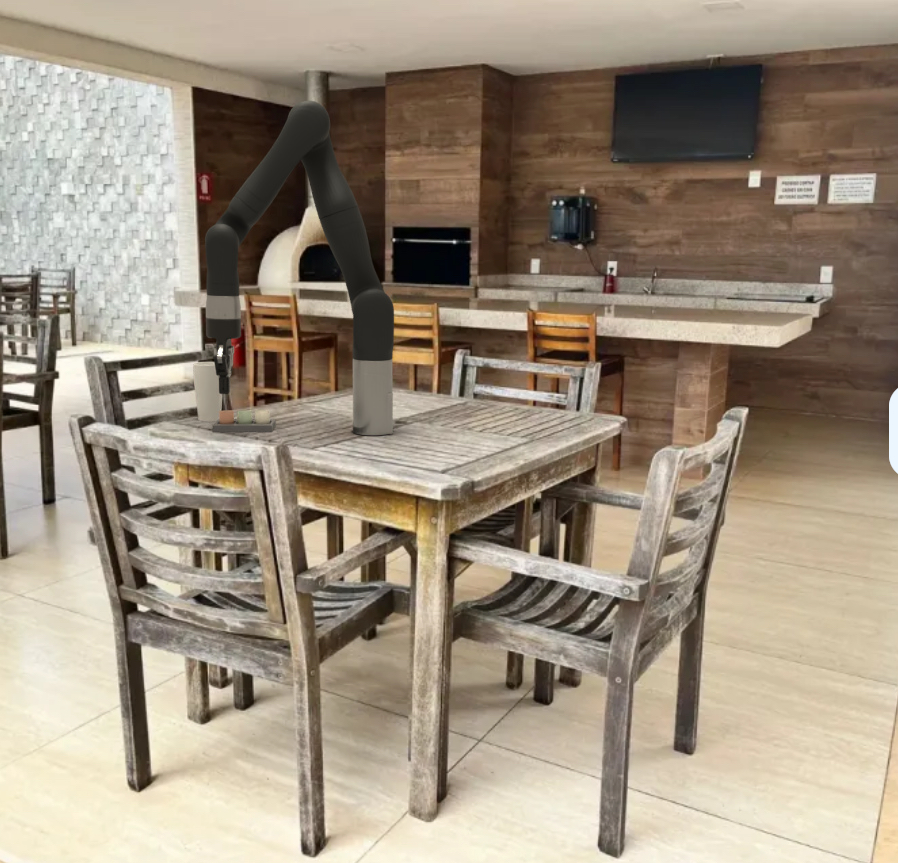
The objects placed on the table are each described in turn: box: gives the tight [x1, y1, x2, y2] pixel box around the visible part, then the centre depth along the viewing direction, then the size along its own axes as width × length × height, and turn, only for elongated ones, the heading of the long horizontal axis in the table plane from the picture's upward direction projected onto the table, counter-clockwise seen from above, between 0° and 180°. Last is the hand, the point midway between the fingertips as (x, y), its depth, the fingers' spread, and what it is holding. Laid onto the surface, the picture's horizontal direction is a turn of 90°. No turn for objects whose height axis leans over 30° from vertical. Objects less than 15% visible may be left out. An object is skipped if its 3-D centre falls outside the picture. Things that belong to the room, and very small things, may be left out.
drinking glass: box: [192, 361, 223, 422], centre depth 213 cm, size 7×7×15 cm
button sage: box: [236, 409, 253, 424], centre depth 203 cm, size 3×3×4 cm
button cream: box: [254, 409, 271, 424], centre depth 203 cm, size 3×3×4 cm
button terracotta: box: [219, 409, 235, 424], centre depth 202 cm, size 3×3×4 cm
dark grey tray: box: [212, 418, 276, 433], centre depth 203 cm, size 13×8×3 cm, turn 95°
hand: (224, 393), depth 201 cm, fingers closed
